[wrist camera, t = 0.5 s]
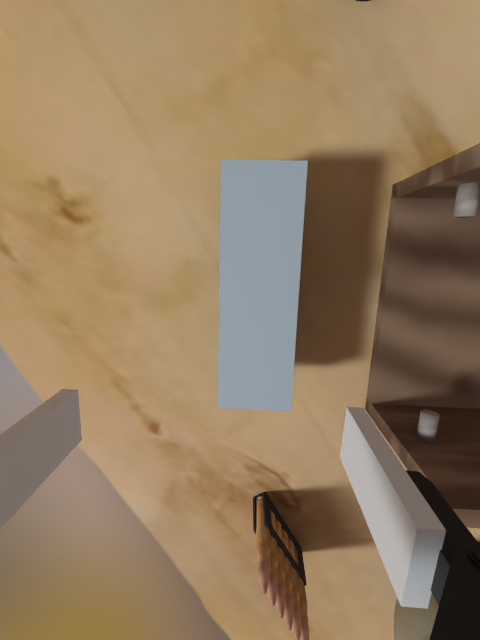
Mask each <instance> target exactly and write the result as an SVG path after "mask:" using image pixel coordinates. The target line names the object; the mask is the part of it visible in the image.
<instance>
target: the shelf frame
mask: <svg viewBox="0 0 480 640" xmlns="http://www.w3.org/2000/svg"><path fill="white" fill-rule="evenodd" d="M365 409H366V411H367V412H368V414H369V415H370V417H371V418H372V419H373V421H374V422H375V424H376V425H377V427H378V428H379V429H380V431H381V432H382V434H383V435H384V437H385V438H386V439H387V441H388V442H389V444H390V445H391V447H392V448H393V449H394V451H395V452H396V454H397V455H398V457H399V458H400V459H401V461H402V462H403V464H404V465H405V467H406V468H407V470H408V471H419V472H420V473H421V474H423V475H424V476H425V477H426V478H428V479H429V480H430V481H431V482H432V483H433V484H434V485H435V487H436V488H437V489H438V491H439V492H440V495H441V496H443V497H444V499H445V500H446V501H447V503H448V505H450V507H451V508H452V509H453V511H454V512H455V513H456V514H457V516H458V517H459V518H460V520H461V521H462V522H463V524H464V525H465V526H466V527H469V528H480V143H479V144H477V145H475V146H473V147H471V148H469V149H467V150H465V151H463V152H461V153H459V154H456V155H454V156H452V157H450V158H448V159H446V160H444V161H442V162H440V163H438V164H436V165H434V166H431V167H429V168H427V169H425V170H423V171H421V172H419V173H417V174H415V175H413V176H411V177H409V178H406V179H404V180H402V181H400V182H398V183H396V184H394V185H393V189H392V197H391V205H390V213H389V221H388V230H387V238H386V246H385V254H384V262H383V270H382V278H381V286H380V294H379V302H378V310H377V319H376V327H375V335H374V343H373V351H372V359H371V367H370V375H369V383H368V391H367V399H366V408H365Z"/></svg>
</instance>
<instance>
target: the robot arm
mask: <svg viewBox="0 0 480 640" xmlns="http://www.w3.org/2000/svg"><path fill="white" fill-rule="evenodd" d="M81 440H82V436H81V423H80V411H79V398H78V390H70V389H62V390H61V391H59V392H58V393H57V394H55V395H54V396H52V397H51V398H50V399H48V400H47V401H46V402H44V403H43V404H42V405H40V406H39V407H37V408H36V409H35V410H33V411H32V412H31V413H29V414H28V415H26V416H25V417H24V418H22V419H21V420H20V421H18V422H17V423H16V424H14V425H13V426H11V427H10V428H9V429H7V430H6V431H4V432H3V433H2V434H0V529H1V528H2V527H3V526H4V525H5V524H6V522H7V521H8V520H9V519H10V518H11V517H12V516H13V515H14V514H15V513H16V511H17V510H18V509H19V508H20V507H21V506H22V505H23V504H24V503H25V502H26V500H27V499H28V498H29V497H30V496H31V495H32V494H33V493H34V492H35V490H36V489H37V488H38V487H39V486H40V485H41V484H42V483H43V482H44V481H45V480H46V478H47V477H48V476H49V475H50V474H51V473H52V472H53V471H54V470H55V469H56V467H57V466H58V465H59V464H60V463H61V462H62V461H63V460H64V459H65V458H66V456H67V455H68V454H69V453H70V452H71V451H72V450H73V449H74V448H75V447H76V445H77V444H78V443H79V442H80V441H81ZM340 458H341V461H342V463H343V466H344V468H345V471H346V473H347V476H348V478H349V481H350V483H351V485H352V488H353V490H354V493H355V495H356V498H357V500H358V503H359V505H360V507H361V510H362V512H363V515H364V517H365V520H366V522H367V525H368V527H369V529H370V532H371V534H372V537H373V539H374V542H375V544H376V547H377V549H378V552H379V554H380V556H381V559H382V561H383V564H384V566H385V569H386V571H387V574H388V576H389V578H390V581H391V583H392V586H393V588H394V591H395V593H396V596H397V598H398V601H399V603H400V605H401V606H402V607H413V608H425V609H428V606H429V601H430V597H431V593H432V594H433V596H434V598H435V600H436V602H437V604H438V606H439V607H438V611H437V615H436V618H435V622H434V625H433V629H432V633H431V636H430V640H480V542H478V541H476V540H475V538H474V537H473V536H472V534H471V533H470V532H469V530H468V529H467V528H466V526H465V525H464V524H463V522H462V521H461V520H460V518H459V517H458V516H457V514H456V513H455V512H454V511H453V509H452V508H451V507H450V505H448V503H447V501H446V500H445V499H444V497H443V496H441V495H440V492H439V491H438V489H437V488H436V487H435V485H434V484H433V483H432V482H431V481H430V480H429V479H428V478H426V477H425V476H424V475H423V474H421V473H420V472H419V471H407V470H405V469H404V468H403V466H402V465H401V463H400V462H399V460H398V459H397V457H396V456H395V454H394V453H393V451H392V450H391V448H390V447H389V446H388V444H387V443H386V441H385V440H384V438H383V437H382V435H381V434H380V432H379V431H378V429H377V428H376V426H375V425H374V423H373V422H372V420H371V419H370V418H369V416H368V415H367V413H366V412H365V410H364V409H363V408H356V407H347V409H346V417H345V424H344V432H343V439H342V447H341V454H340Z"/></svg>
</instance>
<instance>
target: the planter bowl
mask: <svg viewBox="0 0 480 640" xmlns="http://www.w3.org/2000/svg"><path fill="white" fill-rule="evenodd" d="M438 607H439V606H438V604H437V602H436V600H435V598H434V596H433V594H432V593H431V597H430V601H429V606H428V609H425V608H413V607H402V606H401V605H400V603H399V601H398V598H397V601H396V605H395V613H394V638H395V640H430V636H431V633H432V629H433V625H434V622H435V618H436V615H437V611H438Z"/></svg>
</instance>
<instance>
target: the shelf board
mask: <svg viewBox="0 0 480 640" xmlns="http://www.w3.org/2000/svg"><path fill="white" fill-rule="evenodd" d="M307 166H308V161H296V160H227V159H221V184H220V273H219V361H218V408H231V409H252V410H273V411H291V404H292V389H293V375H294V360H295V345H296V330H297V315H298V300H299V285H300V270H301V255H302V241H303V226H304V211H305V196H306V181H307Z"/></svg>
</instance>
